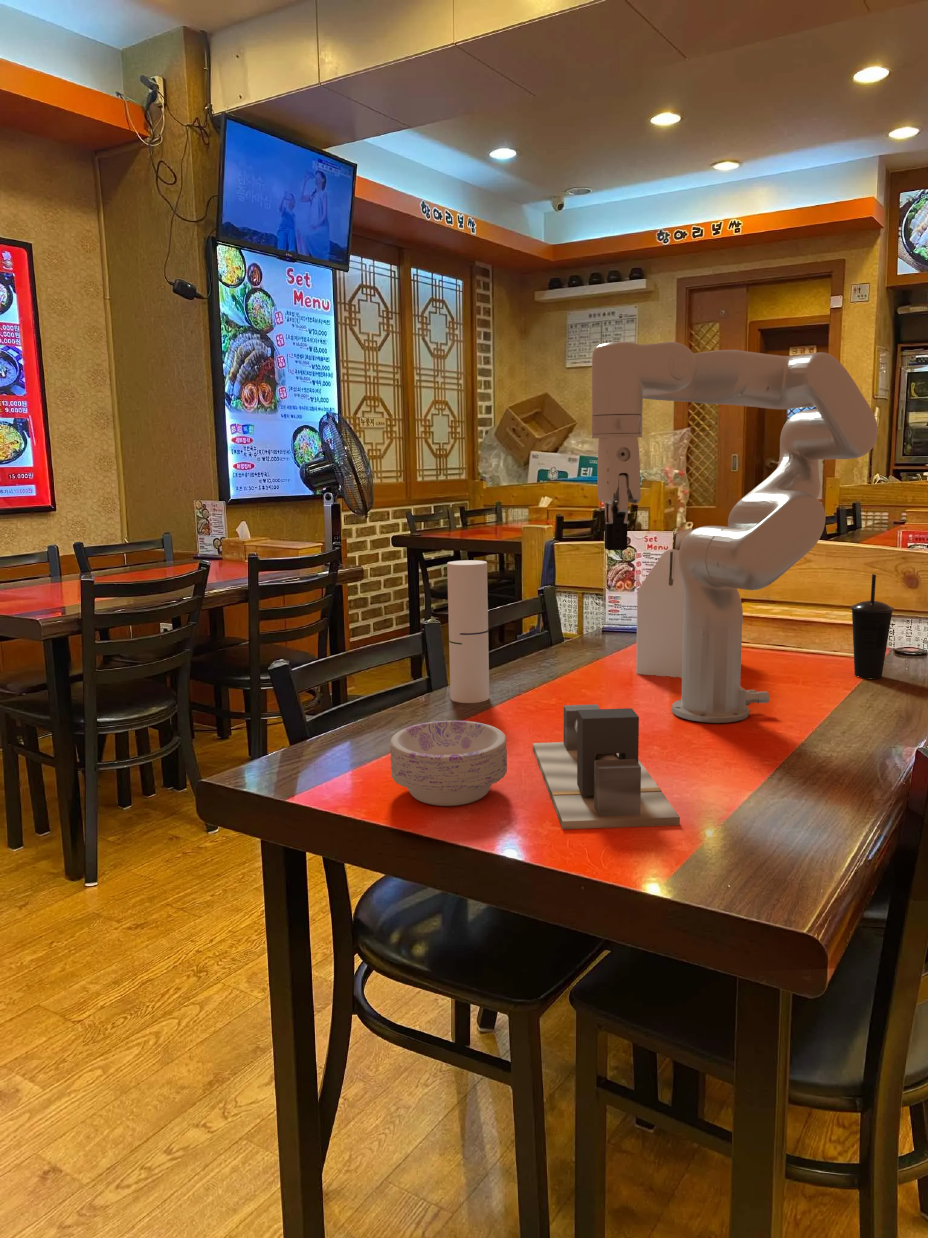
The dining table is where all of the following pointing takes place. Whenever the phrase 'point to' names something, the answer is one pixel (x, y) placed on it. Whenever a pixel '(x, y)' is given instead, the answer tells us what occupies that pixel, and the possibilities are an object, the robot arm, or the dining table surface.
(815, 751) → the dining table surface
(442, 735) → the paper bowls
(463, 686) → the cylindrical container
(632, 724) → the collar
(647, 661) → the gable box
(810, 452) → the robot arm
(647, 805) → the pipe rig
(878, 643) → the drinking cup
